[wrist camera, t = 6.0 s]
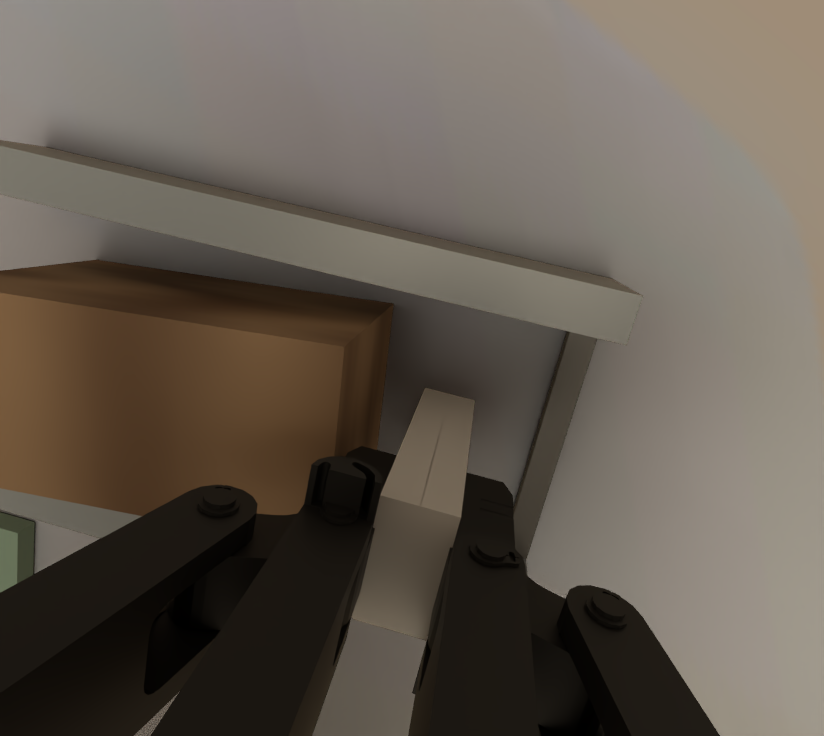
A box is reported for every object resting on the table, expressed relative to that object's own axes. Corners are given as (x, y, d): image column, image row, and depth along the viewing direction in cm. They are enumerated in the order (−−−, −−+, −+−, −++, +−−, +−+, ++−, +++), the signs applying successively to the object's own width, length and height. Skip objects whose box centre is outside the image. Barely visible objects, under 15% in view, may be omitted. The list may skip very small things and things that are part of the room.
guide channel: (36, 447, 21) (-55, 493, 17) (44, 147, 18) (-64, 130, 14) (515, 580, 20) (519, 659, 16) (612, 278, 16) (643, 296, 13)
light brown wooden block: (101, 401, 20) (-57, 477, 14) (96, 259, 19) (-81, 279, 13) (377, 450, 19) (325, 552, 13) (393, 303, 18) (344, 347, 12)
